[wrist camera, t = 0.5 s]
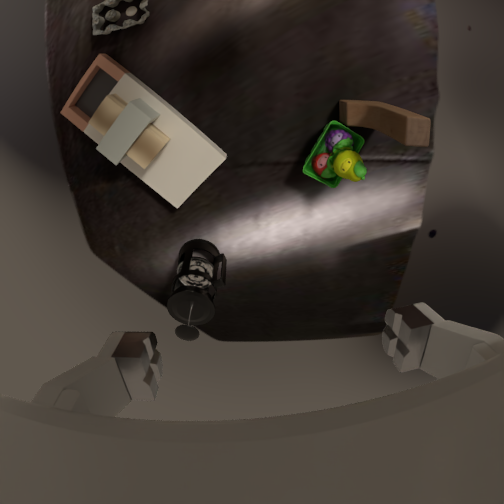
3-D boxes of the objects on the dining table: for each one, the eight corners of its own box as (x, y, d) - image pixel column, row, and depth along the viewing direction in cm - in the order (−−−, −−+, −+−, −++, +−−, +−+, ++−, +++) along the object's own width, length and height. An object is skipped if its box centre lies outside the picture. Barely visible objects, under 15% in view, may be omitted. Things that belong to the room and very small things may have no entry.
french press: (187, 277, 71) (173, 355, 52) (170, 246, 66) (146, 323, 47) (233, 264, 69) (231, 343, 50) (218, 231, 64) (209, 308, 45)
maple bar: (115, 93, 43) (106, 95, 40) (170, 138, 49) (165, 144, 46) (97, 118, 45) (87, 122, 42) (150, 162, 51) (144, 169, 48)
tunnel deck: (106, 53, 41) (86, 53, 34) (226, 154, 54) (224, 167, 47) (67, 110, 46) (45, 118, 39) (179, 202, 60) (172, 221, 53)
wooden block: (338, 121, 51) (377, 145, 36) (338, 99, 49) (378, 114, 34) (380, 122, 51) (429, 147, 36) (381, 101, 48) (431, 118, 34)
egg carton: (150, -9, 35) (144, -14, 31) (151, 25, 39) (144, 22, 36) (98, 5, 35) (89, 2, 31) (98, 38, 39) (89, 36, 35)
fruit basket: (324, 114, 50) (343, 125, 41) (361, 137, 53) (385, 152, 43) (296, 163, 56) (307, 184, 47) (332, 182, 58) (350, 206, 49)
